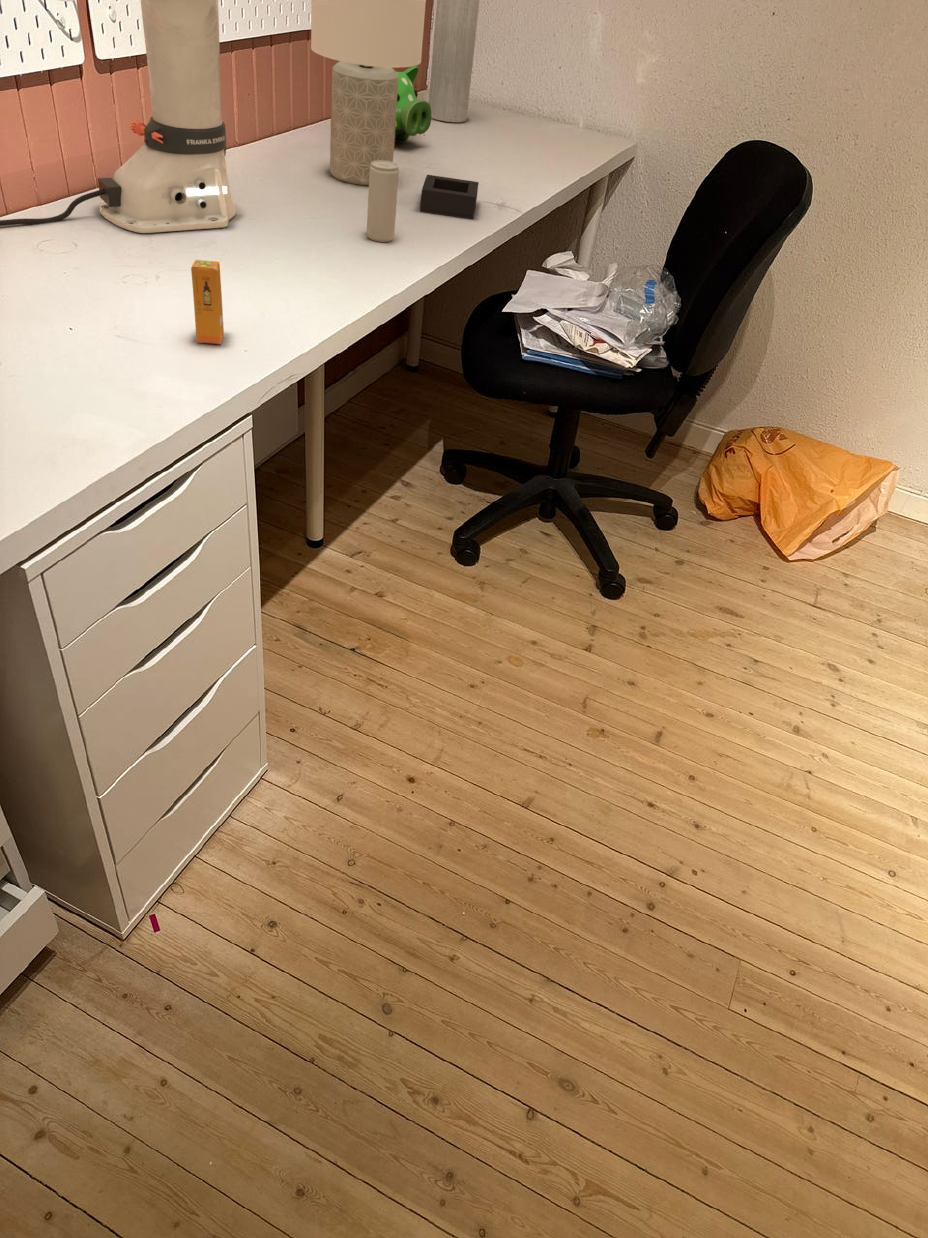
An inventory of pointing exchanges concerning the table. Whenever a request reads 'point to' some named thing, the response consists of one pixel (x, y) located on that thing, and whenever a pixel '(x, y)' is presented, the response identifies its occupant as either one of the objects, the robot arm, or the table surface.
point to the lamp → (365, 75)
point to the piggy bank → (410, 108)
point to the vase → (452, 59)
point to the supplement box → (207, 301)
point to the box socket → (449, 196)
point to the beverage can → (382, 200)
